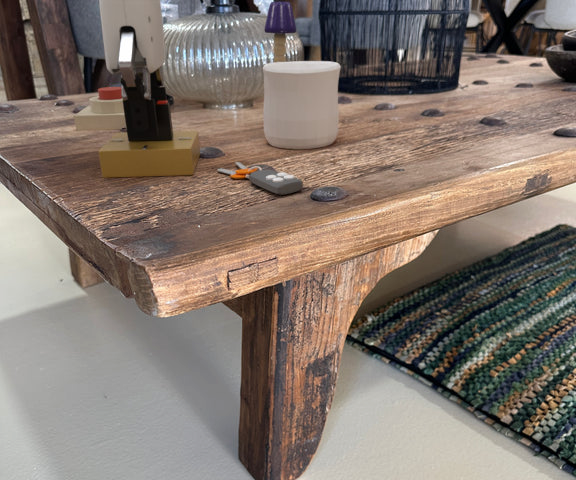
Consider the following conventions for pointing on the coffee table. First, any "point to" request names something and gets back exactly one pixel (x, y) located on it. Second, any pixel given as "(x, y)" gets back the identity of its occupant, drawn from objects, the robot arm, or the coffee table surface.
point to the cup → (301, 104)
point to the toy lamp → (280, 26)
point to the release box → (101, 115)
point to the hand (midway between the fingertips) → (149, 128)
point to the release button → (110, 93)
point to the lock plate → (150, 156)
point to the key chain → (267, 179)
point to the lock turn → (161, 123)
